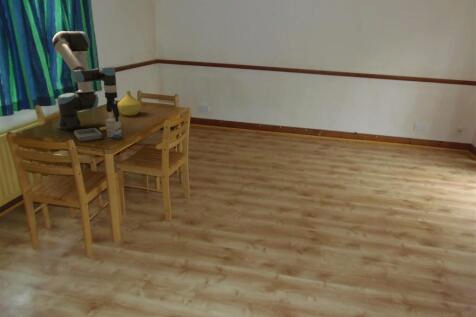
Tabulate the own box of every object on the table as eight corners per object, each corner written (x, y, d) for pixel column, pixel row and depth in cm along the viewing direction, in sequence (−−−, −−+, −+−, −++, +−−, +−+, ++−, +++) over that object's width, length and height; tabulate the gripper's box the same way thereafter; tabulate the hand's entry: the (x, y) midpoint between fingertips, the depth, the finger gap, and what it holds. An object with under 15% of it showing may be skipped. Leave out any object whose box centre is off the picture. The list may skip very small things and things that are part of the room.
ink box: (122, 136, 246) (120, 119, 242) (117, 138, 242) (115, 121, 238) (111, 134, 249) (110, 118, 245) (106, 136, 245) (105, 119, 240)
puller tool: (101, 131, 257) (100, 128, 256) (99, 129, 259) (99, 127, 259) (112, 129, 261) (112, 127, 261) (111, 128, 264) (111, 126, 263)
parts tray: (74, 134, 246) (73, 130, 245) (95, 132, 254) (95, 127, 253) (80, 141, 234) (79, 137, 233) (102, 138, 242) (102, 133, 240)
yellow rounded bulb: (140, 111, 313) (139, 88, 306) (142, 116, 297) (141, 93, 290) (118, 112, 307) (116, 89, 300) (118, 117, 291) (116, 93, 284)
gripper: (99, 89, 243) (102, 120, 250) (110, 95, 224) (114, 129, 231) (110, 88, 247) (113, 119, 254) (123, 94, 228) (125, 127, 235)
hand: (113, 123), depth 242 cm, fingers open, 13 cm apart
